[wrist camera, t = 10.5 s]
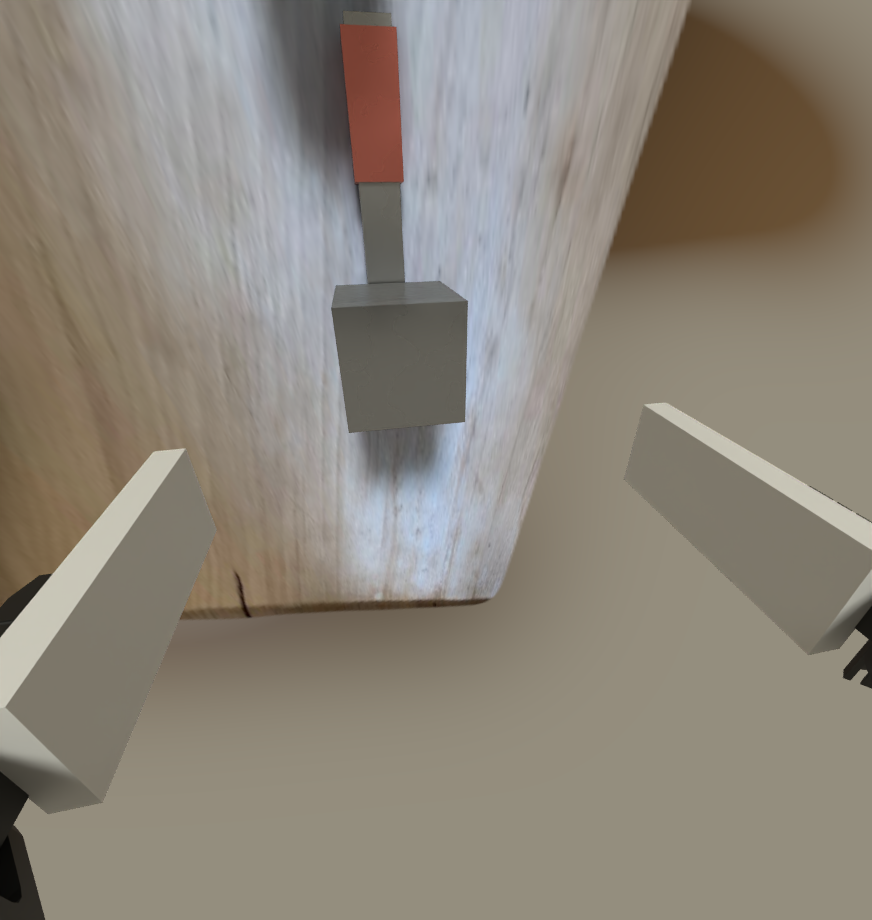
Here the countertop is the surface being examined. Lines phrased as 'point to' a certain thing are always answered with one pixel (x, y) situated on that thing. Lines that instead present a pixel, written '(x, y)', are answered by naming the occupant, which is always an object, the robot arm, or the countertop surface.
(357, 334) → the brushed steel cube
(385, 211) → the ratchet
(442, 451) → the countertop surface
